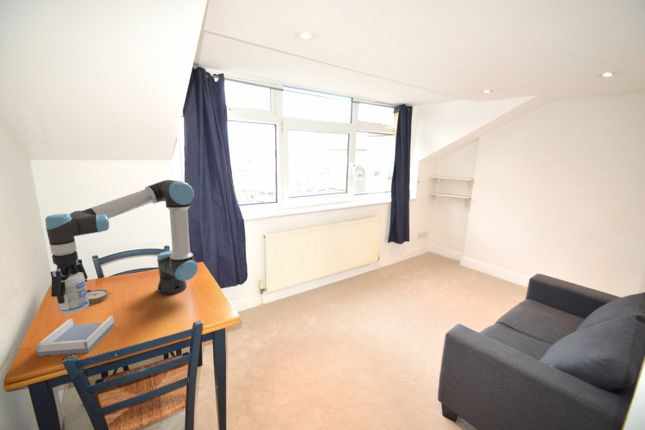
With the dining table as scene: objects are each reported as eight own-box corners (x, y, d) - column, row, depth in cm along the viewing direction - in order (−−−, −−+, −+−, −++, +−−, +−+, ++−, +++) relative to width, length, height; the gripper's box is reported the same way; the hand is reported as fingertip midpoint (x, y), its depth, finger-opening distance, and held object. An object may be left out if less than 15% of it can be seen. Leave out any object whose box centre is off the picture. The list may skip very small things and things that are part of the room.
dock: (114, 325, 130) (113, 316, 129) (89, 352, 112) (86, 341, 111) (71, 328, 127) (69, 318, 126) (38, 356, 110) (35, 345, 109)
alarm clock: (101, 299, 148) (68, 296, 144) (101, 307, 149) (68, 305, 145) (113, 289, 159) (82, 286, 155) (112, 297, 159) (82, 295, 156)
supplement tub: (87, 310, 116) (81, 277, 113) (57, 317, 111) (49, 283, 108) (90, 300, 124) (85, 269, 121) (62, 306, 119) (55, 274, 116)
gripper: (73, 244, 123) (82, 290, 127) (29, 263, 101) (42, 318, 106) (92, 243, 124) (100, 290, 128) (53, 262, 102) (64, 317, 107)
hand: (74, 302), depth 117 cm, fingers closed on supplement tub, 10 cm apart
